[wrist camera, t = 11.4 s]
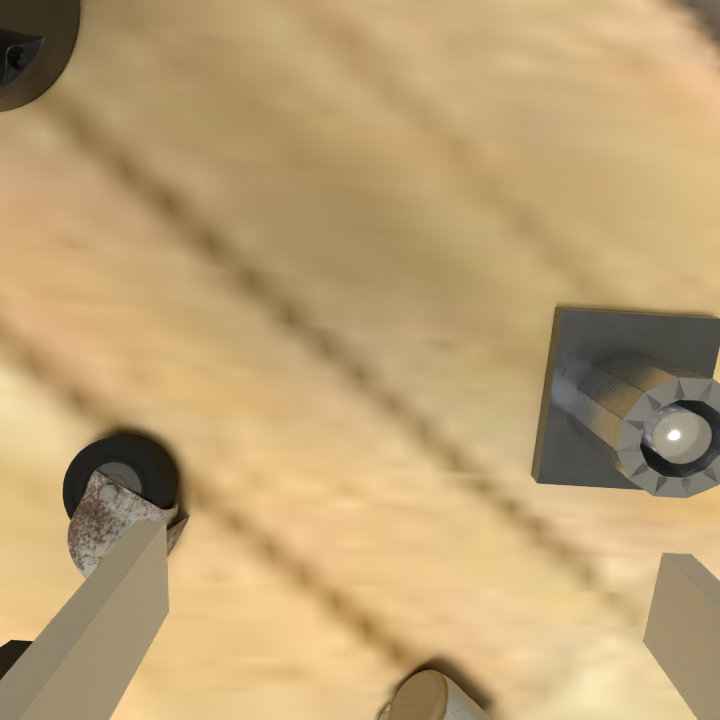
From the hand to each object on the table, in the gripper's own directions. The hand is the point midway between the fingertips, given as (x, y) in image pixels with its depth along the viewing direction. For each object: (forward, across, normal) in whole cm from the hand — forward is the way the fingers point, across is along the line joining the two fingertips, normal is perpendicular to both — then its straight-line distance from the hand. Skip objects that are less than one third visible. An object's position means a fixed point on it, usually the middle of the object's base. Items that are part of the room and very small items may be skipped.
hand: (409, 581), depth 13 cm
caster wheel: (+27, -20, -13) cm, 36 cm away
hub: (+25, +19, -2) cm, 32 cm away
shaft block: (+27, +19, -2) cm, 33 cm away
